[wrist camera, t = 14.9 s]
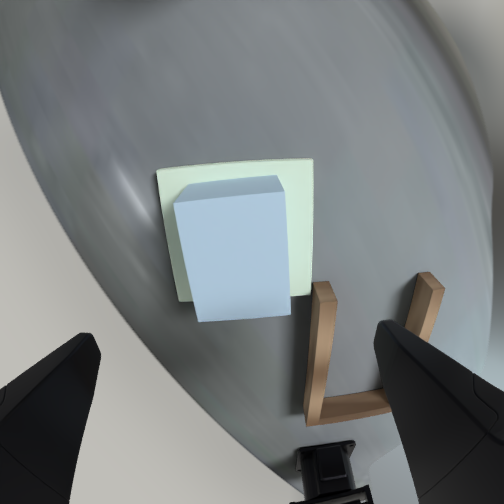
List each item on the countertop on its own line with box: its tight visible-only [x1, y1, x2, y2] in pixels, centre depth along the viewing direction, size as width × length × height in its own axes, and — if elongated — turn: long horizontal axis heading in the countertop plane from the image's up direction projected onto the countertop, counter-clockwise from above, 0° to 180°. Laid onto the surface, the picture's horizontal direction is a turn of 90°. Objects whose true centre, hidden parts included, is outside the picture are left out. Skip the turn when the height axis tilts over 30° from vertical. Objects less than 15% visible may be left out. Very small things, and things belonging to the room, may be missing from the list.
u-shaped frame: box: [303, 272, 445, 426], centre depth 20 cm, size 13×8×2 cm, turn 3°
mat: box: [156, 158, 313, 302], centre depth 17 cm, size 8×8×1 cm
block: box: [173, 175, 291, 322], centre depth 15 cm, size 6×4×4 cm
